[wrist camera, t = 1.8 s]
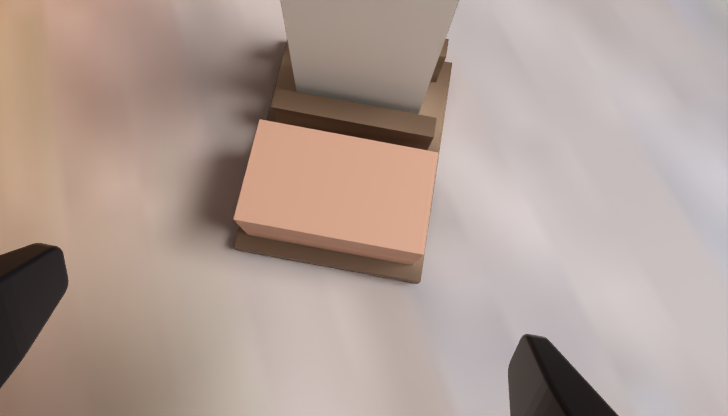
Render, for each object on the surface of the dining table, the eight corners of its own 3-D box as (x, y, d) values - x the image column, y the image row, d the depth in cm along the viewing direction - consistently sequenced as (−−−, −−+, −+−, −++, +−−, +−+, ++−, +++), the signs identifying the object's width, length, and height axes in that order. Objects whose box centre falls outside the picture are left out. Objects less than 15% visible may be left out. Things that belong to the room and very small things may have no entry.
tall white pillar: (413, 128, 24) (480, -59, 13) (299, 107, 24) (262, -99, 13) (420, 86, 25) (490, -129, 13) (309, 65, 25) (282, -167, 13)
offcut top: (417, 260, 21) (423, 254, 19) (241, 227, 21) (233, 219, 19) (431, 165, 22) (438, 152, 21) (265, 134, 22) (259, 119, 21)
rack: (417, 283, 23) (429, 276, 20) (237, 250, 23) (221, 237, 20) (448, 70, 26) (463, 35, 23) (290, 41, 26) (284, 2, 23)
